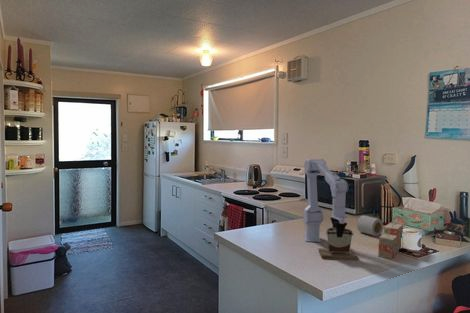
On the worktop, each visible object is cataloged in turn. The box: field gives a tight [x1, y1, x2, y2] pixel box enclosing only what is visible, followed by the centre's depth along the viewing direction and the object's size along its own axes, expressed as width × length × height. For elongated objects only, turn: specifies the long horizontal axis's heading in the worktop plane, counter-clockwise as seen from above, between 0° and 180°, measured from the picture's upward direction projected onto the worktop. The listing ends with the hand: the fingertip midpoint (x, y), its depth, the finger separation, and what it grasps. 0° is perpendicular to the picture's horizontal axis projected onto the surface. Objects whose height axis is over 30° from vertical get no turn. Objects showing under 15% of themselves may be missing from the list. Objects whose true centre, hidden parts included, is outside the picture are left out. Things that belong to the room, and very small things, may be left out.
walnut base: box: [317, 247, 359, 261], centre depth 158 cm, size 10×16×2 cm, turn 86°
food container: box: [325, 227, 354, 252], centre depth 158 cm, size 12×6×10 cm, turn 86°
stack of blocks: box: [377, 222, 404, 260], centre depth 164 cm, size 21×6×12 cm, turn 143°
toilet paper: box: [356, 215, 384, 237], centre depth 194 cm, size 10×10×10 cm
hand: (337, 234), depth 158 cm, fingers closed on food container, 6 cm apart
